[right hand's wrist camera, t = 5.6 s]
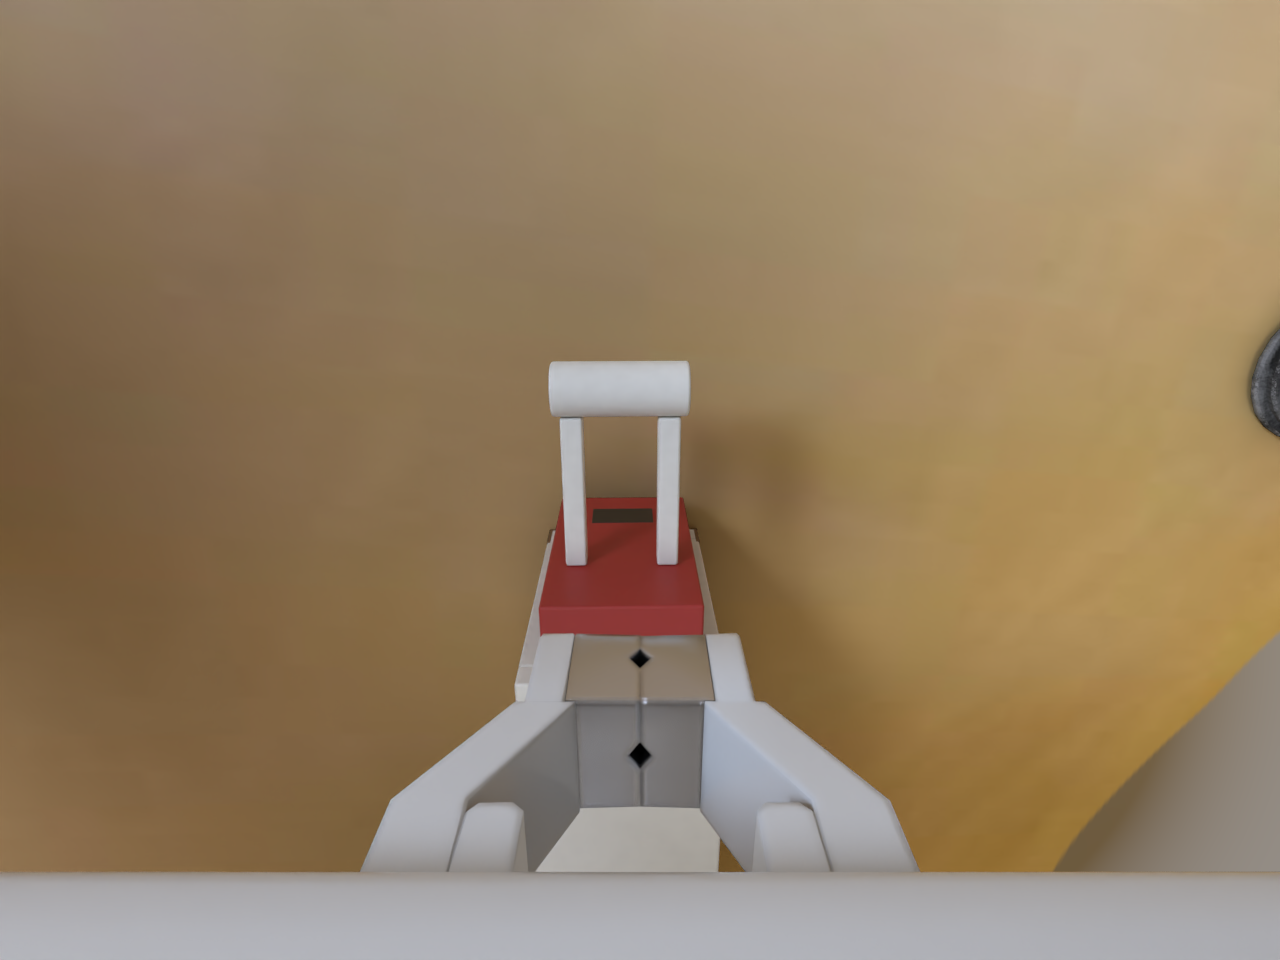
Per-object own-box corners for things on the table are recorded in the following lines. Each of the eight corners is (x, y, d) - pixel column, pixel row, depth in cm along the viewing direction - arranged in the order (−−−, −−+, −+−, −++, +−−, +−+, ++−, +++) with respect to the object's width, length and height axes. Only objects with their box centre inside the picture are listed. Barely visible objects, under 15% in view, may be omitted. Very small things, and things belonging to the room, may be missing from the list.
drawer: (554, 330, 22) (524, 384, 16) (687, 330, 22) (713, 384, 16) (577, 839, 30) (564, 1018, 24) (674, 838, 30) (688, 1015, 24)
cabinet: (549, 529, 26) (513, 684, 17) (696, 528, 26) (730, 681, 18) (568, 867, 32) (547, 1099, 24) (685, 866, 32) (706, 1095, 24)
